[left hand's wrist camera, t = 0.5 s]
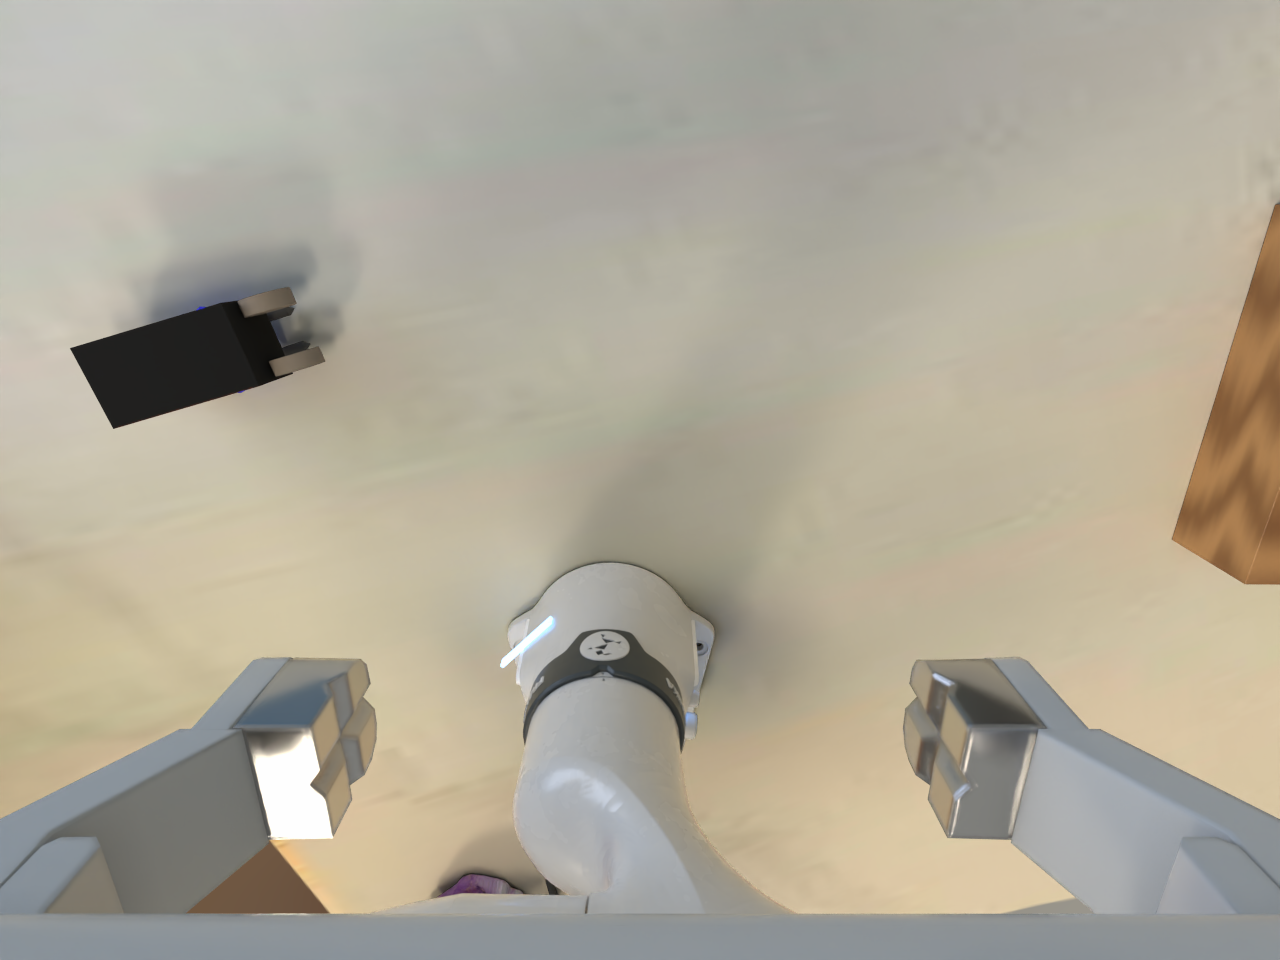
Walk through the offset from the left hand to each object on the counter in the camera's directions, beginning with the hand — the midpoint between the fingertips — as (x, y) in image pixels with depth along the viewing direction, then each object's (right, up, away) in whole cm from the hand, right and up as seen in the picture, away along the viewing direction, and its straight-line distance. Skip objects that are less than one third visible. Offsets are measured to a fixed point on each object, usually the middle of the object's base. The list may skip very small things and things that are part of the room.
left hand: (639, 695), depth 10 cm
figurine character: (-32, +14, +44) cm, 56 cm away
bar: (+49, +11, +45) cm, 67 cm away
